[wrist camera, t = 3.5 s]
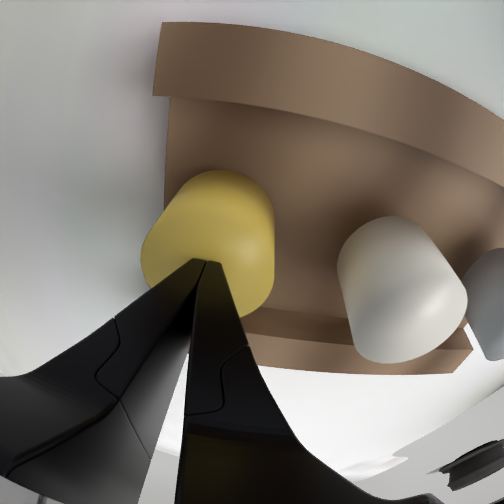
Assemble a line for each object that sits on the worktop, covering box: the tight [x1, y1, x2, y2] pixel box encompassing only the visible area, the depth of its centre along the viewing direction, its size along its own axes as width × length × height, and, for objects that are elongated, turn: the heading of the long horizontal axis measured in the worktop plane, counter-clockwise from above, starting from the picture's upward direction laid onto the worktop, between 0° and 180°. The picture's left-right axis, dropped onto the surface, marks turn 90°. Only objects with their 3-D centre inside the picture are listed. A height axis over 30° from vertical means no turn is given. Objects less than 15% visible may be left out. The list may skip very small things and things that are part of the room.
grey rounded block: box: [461, 248, 504, 361], centre depth 10 cm, size 4×4×3 cm
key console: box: [153, 22, 504, 375], centre depth 12 cm, size 18×14×3 cm
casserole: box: [439, 439, 504, 491], centre depth 38 cm, size 25×19×8 cm
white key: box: [337, 216, 468, 364], centre depth 9 cm, size 4×4×3 cm
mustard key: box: [141, 170, 275, 317], centre depth 10 cm, size 4×4×3 cm
